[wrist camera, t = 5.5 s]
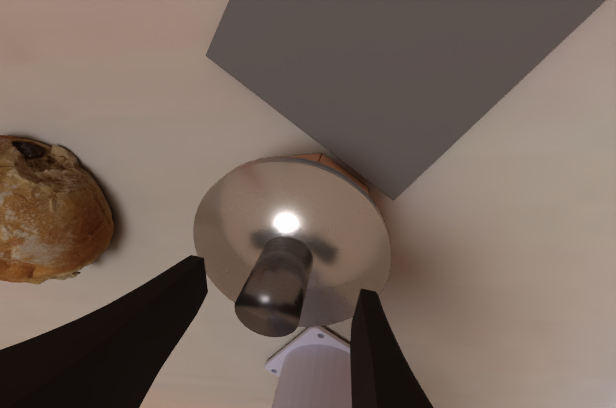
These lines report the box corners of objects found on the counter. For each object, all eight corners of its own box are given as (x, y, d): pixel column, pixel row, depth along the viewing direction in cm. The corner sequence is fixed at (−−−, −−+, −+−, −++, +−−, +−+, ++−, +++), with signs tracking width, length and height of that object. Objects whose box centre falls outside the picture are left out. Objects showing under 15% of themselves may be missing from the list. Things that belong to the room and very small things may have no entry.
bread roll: (156, 173, 22) (67, 165, 14) (115, 288, 22) (7, 345, 14) (40, 126, 22) (-118, 92, 14) (2, 244, 22) (-170, 277, 14)
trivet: (631, -34, 10) (646, -38, 9) (392, 195, 15) (393, 200, 15) (378, -322, 8) (379, -349, 7) (211, 56, 14) (205, 55, 13)
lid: (434, 247, 12) (466, 325, 8) (307, 337, 16) (293, 413, 13) (265, 107, 10) (217, 131, 7) (174, 247, 15) (115, 306, 11)
